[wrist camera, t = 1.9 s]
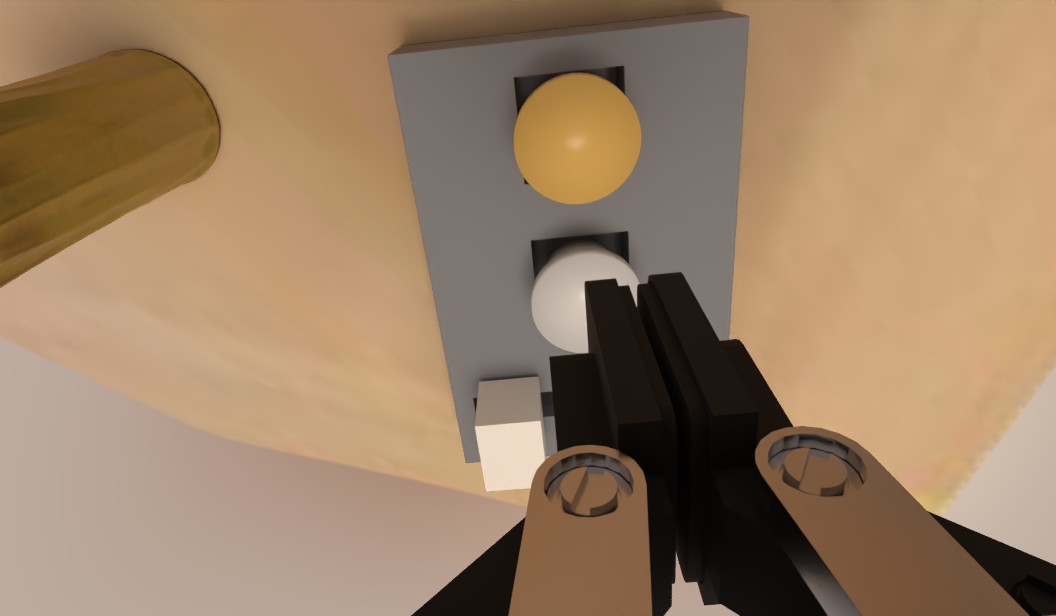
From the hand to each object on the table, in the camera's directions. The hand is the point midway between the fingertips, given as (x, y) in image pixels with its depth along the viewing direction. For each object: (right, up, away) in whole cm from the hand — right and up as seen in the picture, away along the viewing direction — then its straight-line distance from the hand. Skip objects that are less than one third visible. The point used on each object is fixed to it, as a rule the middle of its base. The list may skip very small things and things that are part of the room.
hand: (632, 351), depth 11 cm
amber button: (0, +8, +15) cm, 17 cm away
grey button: (+1, +2, +19) cm, 19 cm away
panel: (+1, +4, +21) cm, 21 cm away
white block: (-3, -3, +23) cm, 24 cm away
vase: (-19, +10, +18) cm, 28 cm away
